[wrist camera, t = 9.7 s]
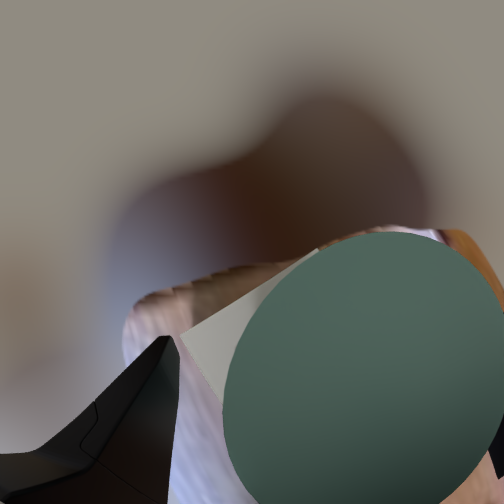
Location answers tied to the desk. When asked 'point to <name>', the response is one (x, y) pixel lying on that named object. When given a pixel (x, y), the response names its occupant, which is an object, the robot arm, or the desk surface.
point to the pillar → (367, 376)
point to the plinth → (227, 332)
